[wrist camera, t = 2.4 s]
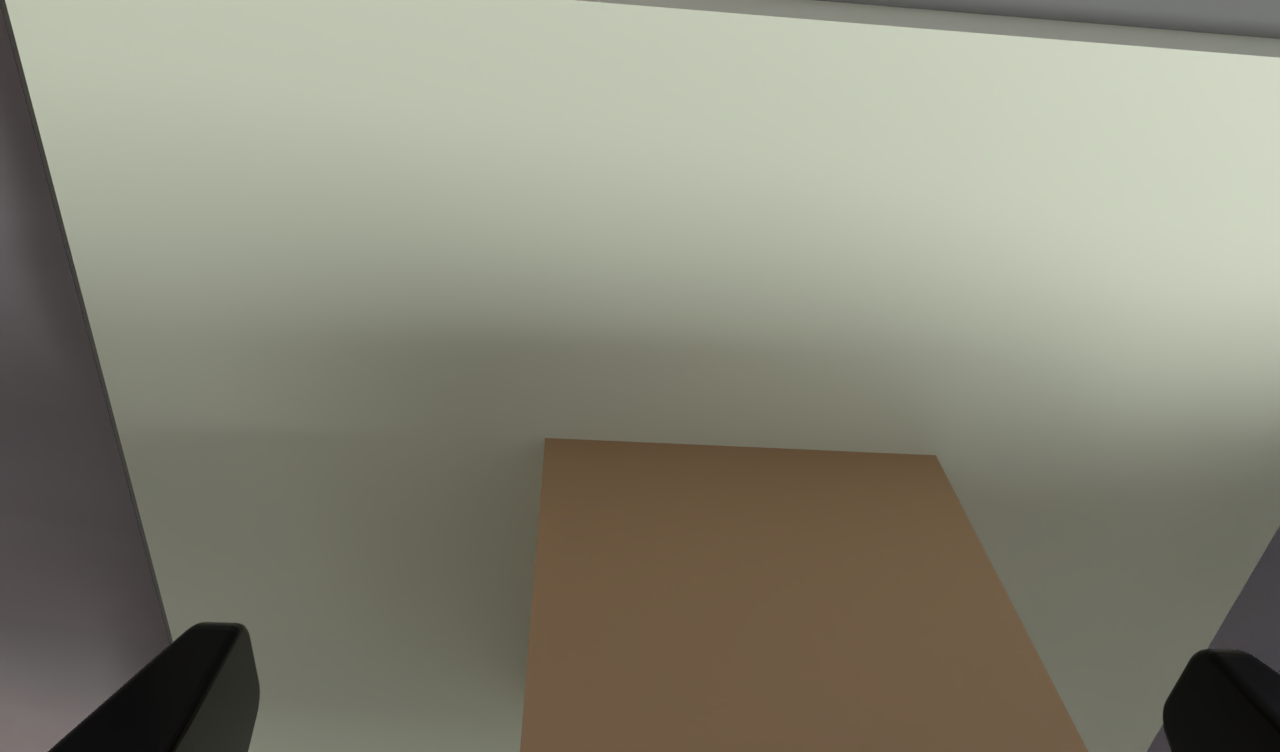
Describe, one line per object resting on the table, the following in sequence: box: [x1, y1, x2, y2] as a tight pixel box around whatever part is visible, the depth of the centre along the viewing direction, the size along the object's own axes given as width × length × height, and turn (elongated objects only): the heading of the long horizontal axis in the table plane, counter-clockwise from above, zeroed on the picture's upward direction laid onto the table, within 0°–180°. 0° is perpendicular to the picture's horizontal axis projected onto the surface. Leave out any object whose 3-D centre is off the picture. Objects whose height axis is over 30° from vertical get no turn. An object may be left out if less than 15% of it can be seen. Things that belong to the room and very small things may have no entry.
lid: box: [5, 0, 1280, 752], centre depth 8 cm, size 11×11×5 cm
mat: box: [0, 0, 1280, 644], centre depth 10 cm, size 12×12×1 cm
